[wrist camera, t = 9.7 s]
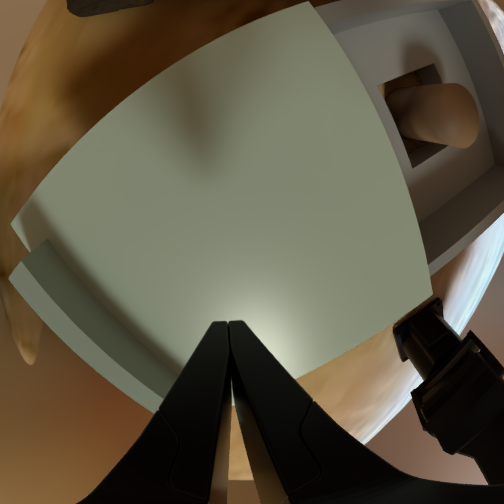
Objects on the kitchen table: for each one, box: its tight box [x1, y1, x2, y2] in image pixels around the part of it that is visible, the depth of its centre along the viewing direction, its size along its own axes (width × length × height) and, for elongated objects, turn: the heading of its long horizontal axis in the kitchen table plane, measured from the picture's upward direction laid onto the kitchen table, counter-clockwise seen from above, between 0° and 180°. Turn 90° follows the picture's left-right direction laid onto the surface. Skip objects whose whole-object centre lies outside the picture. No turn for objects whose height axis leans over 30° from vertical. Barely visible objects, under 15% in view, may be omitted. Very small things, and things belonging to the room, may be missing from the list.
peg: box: [386, 83, 479, 148], centre depth 14 cm, size 4×4×6 cm
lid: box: [8, 1, 433, 414], centre depth 11 cm, size 16×16×3 cm
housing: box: [314, 0, 504, 276], centre depth 13 cm, size 16×16×6 cm
